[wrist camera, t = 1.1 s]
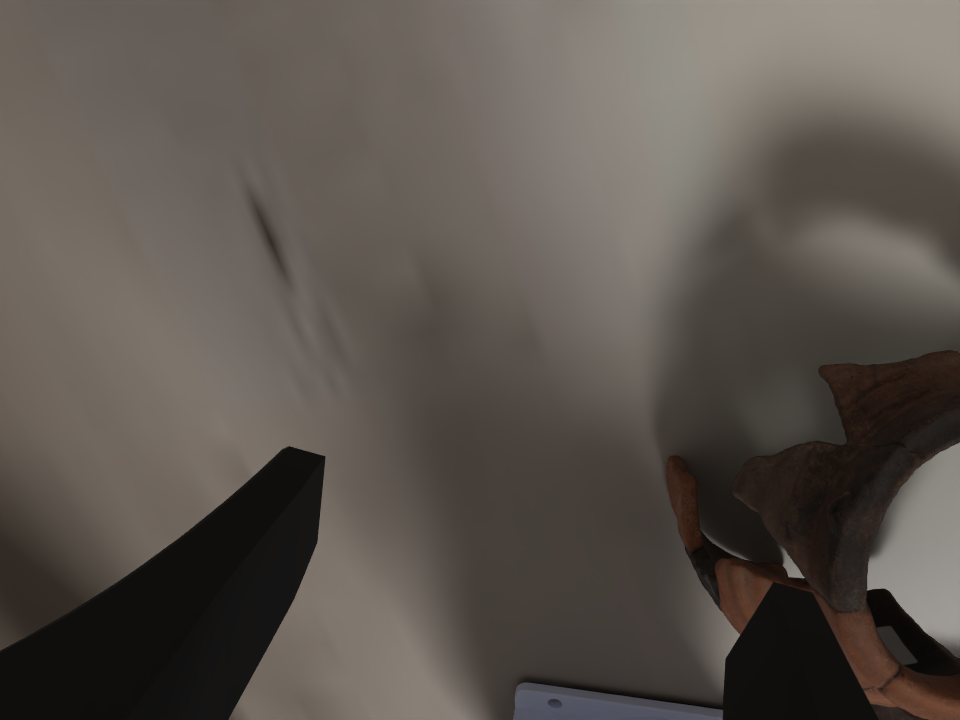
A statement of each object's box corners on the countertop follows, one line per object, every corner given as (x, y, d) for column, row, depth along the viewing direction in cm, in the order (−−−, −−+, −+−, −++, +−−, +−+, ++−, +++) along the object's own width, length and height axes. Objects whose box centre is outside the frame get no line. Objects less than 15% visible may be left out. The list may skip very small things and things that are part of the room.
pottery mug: (605, 374, 23) (738, 451, 15) (898, 269, 24) (1170, 288, 16) (711, 728, 26) (875, 955, 18) (975, 619, 27) (1245, 788, 19)
